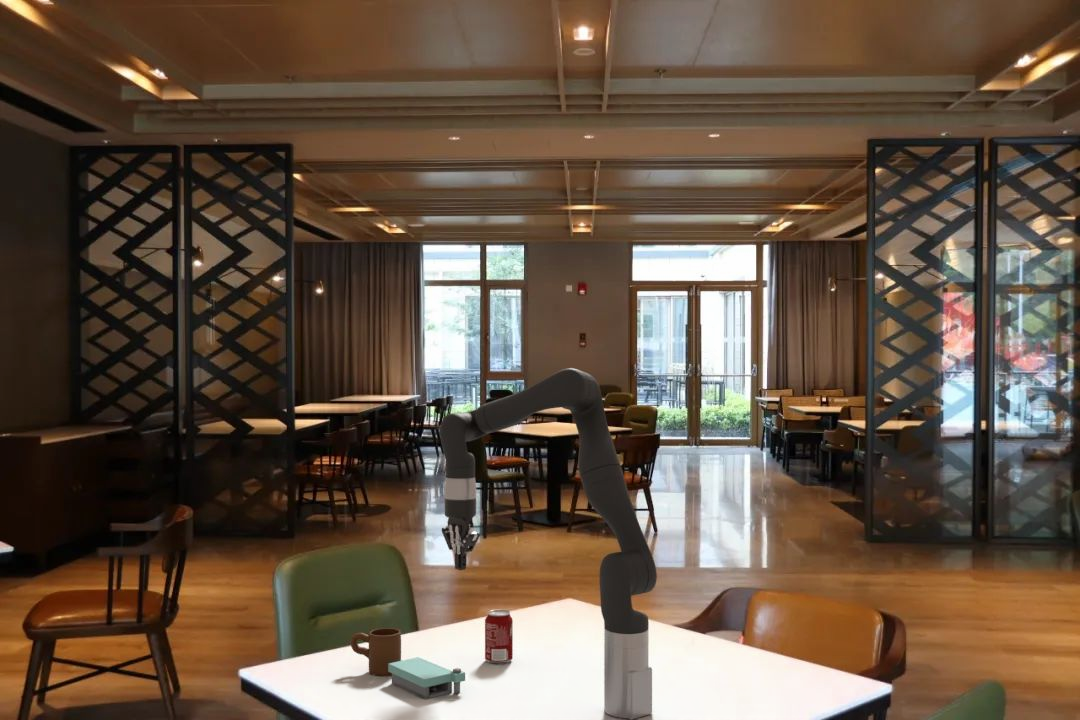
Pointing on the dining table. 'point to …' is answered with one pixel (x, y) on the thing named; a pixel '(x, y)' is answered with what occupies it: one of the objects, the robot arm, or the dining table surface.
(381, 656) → the mug
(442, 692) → the grey rail
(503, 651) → the soda can
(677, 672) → the dining table surface
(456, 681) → the cover
